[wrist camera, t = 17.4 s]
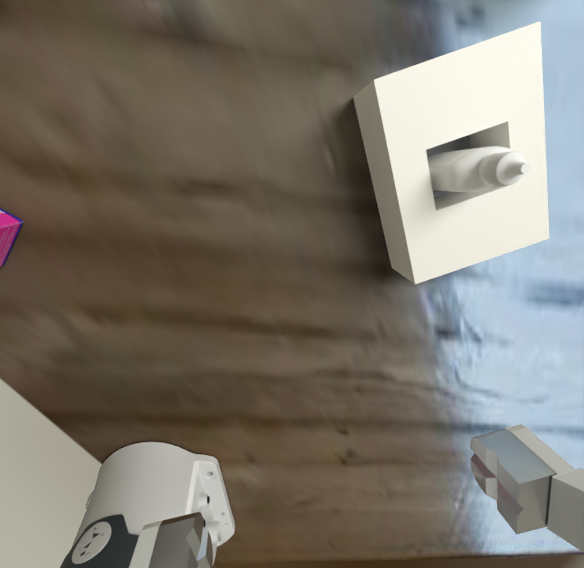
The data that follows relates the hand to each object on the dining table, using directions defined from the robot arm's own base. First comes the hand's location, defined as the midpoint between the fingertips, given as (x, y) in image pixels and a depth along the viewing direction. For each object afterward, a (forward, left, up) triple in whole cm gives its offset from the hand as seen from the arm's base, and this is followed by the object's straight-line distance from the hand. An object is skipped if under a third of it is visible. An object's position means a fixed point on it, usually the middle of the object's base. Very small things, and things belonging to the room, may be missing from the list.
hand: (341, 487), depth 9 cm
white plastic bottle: (+4, -19, -28) cm, 34 cm away
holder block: (+4, -19, -28) cm, 34 cm away
